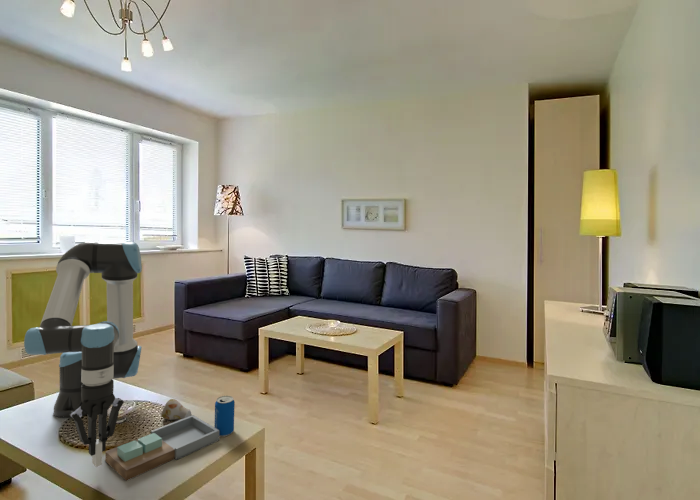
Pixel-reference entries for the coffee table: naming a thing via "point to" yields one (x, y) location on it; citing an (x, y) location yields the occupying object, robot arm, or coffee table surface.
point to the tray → (187, 435)
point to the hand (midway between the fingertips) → (97, 463)
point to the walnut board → (139, 461)
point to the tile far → (150, 442)
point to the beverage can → (224, 415)
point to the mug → (175, 410)
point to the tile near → (129, 450)
